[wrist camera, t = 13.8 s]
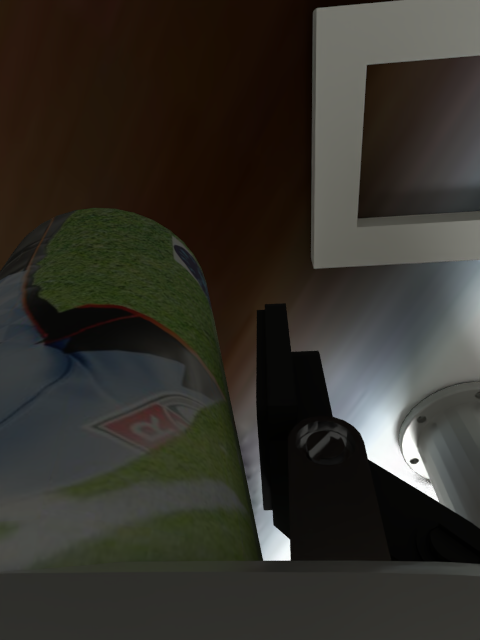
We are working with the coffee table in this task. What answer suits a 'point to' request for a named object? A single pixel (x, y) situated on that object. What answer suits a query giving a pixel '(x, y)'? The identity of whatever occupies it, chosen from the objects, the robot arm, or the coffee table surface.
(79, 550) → the beverage can
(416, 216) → the can holder
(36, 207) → the coffee table surface
